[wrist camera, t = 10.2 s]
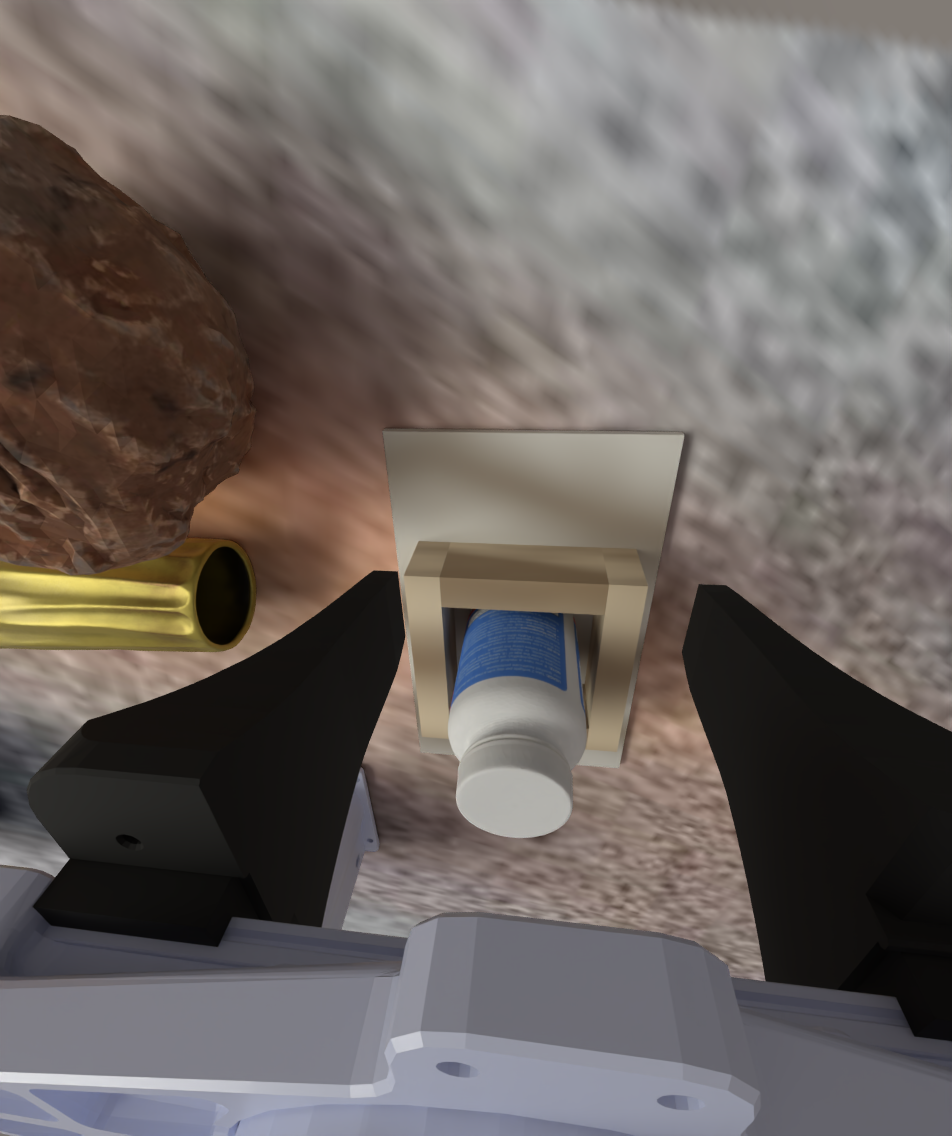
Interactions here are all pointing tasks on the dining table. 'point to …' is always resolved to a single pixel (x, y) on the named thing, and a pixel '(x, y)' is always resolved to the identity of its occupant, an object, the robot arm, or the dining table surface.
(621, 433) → the socket block
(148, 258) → the decorative rock
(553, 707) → the pill bottle
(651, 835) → the dining table surface
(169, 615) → the vase
